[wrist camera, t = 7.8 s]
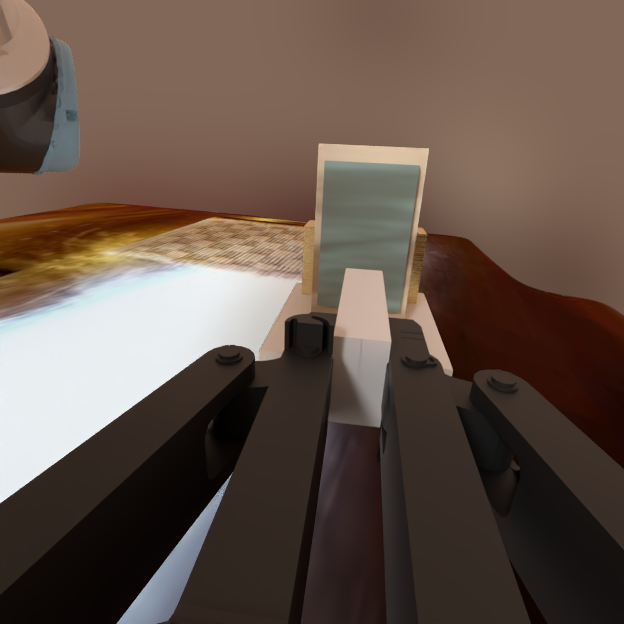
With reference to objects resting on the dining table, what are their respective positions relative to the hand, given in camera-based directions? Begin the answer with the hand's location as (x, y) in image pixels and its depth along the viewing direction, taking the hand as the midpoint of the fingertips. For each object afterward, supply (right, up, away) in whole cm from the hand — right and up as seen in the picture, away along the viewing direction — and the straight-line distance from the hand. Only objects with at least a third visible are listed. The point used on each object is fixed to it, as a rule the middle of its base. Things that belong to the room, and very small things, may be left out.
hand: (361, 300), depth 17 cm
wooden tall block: (+2, 0, +15) cm, 15 cm away
